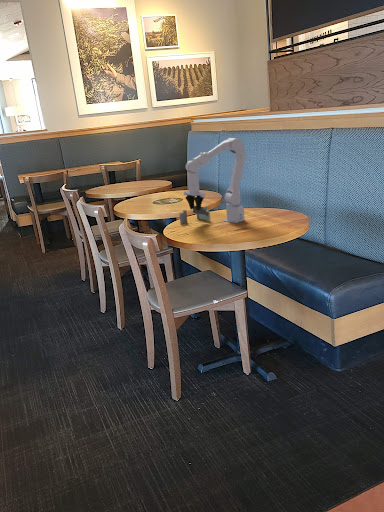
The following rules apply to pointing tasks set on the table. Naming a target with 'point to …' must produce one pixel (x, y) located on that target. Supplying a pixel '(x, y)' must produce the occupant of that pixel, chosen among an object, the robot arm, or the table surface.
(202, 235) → the table surface
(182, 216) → the door frame
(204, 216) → the door
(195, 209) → the wedge
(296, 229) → the table surface
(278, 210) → the table surface
